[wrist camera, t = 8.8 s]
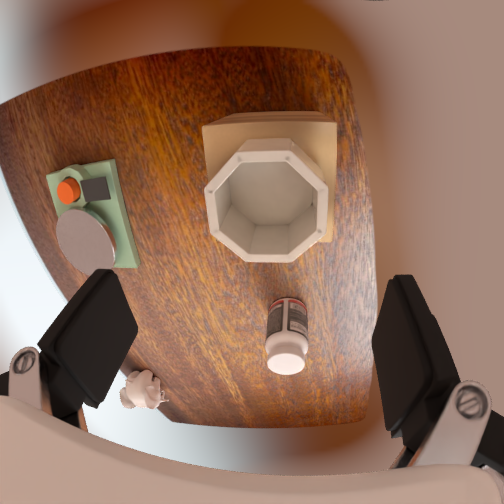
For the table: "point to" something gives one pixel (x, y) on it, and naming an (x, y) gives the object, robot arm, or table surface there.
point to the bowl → (268, 201)
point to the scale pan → (87, 232)
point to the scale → (101, 205)
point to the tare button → (68, 190)
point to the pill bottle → (287, 336)
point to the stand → (277, 126)
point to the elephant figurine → (142, 391)
